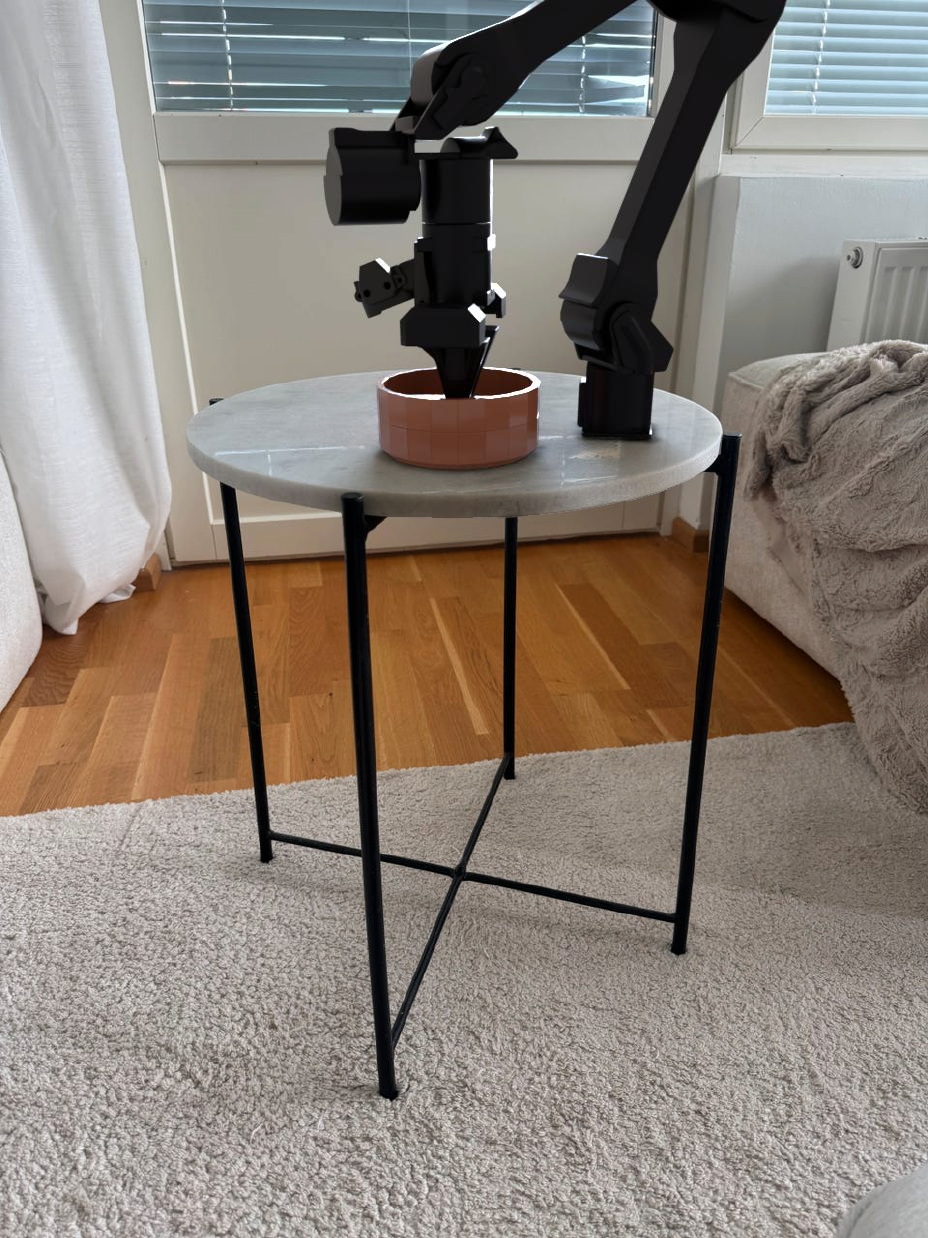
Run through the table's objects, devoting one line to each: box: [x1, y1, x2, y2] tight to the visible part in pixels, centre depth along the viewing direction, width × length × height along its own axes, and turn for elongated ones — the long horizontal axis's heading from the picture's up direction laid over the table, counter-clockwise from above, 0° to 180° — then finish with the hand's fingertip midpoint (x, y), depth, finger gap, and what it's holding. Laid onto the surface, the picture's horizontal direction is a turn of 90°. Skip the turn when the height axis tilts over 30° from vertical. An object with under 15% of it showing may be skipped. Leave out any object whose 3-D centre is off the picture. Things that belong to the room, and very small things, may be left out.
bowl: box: [375, 366, 541, 471], centre depth 81 cm, size 14×14×6 cm
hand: (459, 414), depth 81 cm, fingers closed on stick, 2 cm apart
